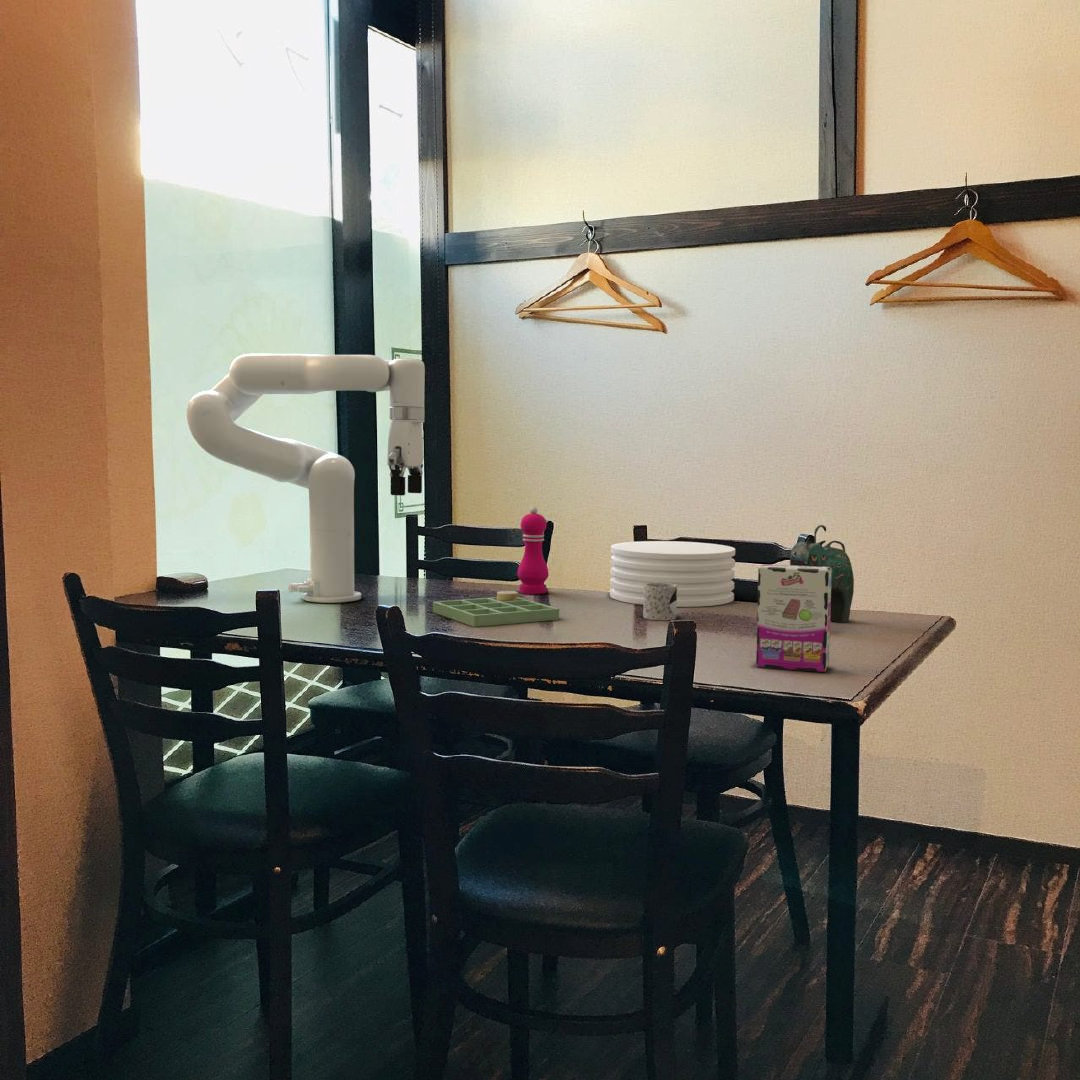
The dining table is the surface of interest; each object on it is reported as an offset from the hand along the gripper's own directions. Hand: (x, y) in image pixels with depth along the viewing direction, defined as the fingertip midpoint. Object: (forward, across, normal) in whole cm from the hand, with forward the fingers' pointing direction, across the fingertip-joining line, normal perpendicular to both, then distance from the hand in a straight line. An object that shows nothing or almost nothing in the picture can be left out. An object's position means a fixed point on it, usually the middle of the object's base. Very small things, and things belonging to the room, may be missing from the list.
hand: (406, 494), depth 245 cm
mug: (+23, +5, +57) cm, 62 cm away
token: (+22, +7, +26) cm, 35 cm away
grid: (+23, +15, +26) cm, 38 cm away
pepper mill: (+23, -19, +24) cm, 38 cm away
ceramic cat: (+23, +5, +89) cm, 92 cm away
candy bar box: (+23, +47, +86) cm, 101 cm away
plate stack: (+23, -22, +56) cm, 64 cm away
